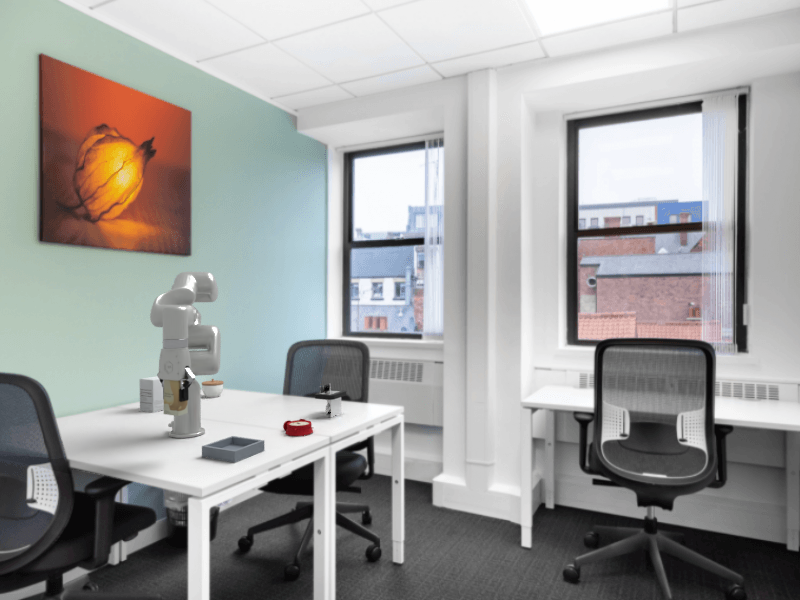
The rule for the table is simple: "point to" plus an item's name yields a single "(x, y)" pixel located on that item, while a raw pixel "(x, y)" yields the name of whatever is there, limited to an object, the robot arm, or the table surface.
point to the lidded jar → (212, 388)
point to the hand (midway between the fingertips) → (175, 399)
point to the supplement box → (151, 394)
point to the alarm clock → (298, 427)
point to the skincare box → (173, 399)
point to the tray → (233, 448)
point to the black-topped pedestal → (331, 399)
